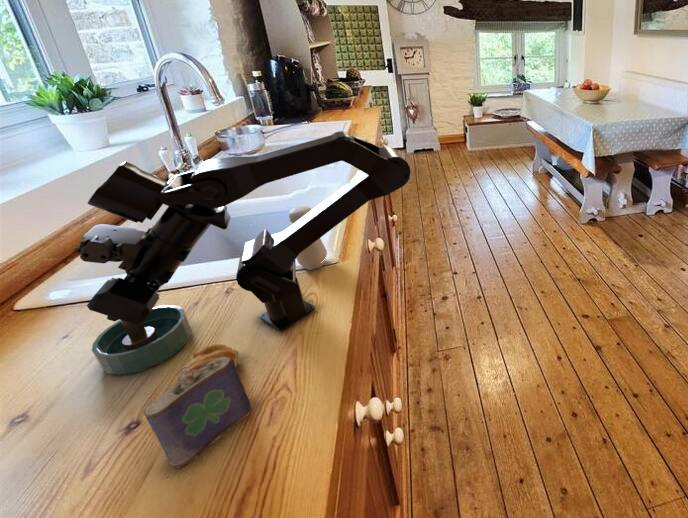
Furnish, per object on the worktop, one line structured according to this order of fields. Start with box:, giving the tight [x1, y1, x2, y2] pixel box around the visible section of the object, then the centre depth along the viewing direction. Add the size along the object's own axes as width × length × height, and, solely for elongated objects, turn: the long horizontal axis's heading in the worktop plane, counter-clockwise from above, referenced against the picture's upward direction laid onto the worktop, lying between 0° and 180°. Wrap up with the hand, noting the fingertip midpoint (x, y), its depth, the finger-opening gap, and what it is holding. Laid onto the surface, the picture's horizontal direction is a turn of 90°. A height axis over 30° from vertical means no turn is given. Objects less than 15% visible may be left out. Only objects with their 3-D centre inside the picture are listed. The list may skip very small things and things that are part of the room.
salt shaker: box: [288, 205, 328, 271], centre depth 83 cm, size 6×6×13 cm
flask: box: [143, 357, 253, 469], centre depth 49 cm, size 9×3×11 cm, turn 151°
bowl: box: [91, 304, 193, 375], centre depth 64 cm, size 11×11×4 cm
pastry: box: [183, 343, 239, 371], centre depth 57 cm, size 9×7×4 cm
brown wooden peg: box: [119, 319, 159, 352], centre depth 62 cm, size 4×4×10 cm
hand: (115, 314), depth 61 cm, fingers closed on brown wooden peg, 2 cm apart
